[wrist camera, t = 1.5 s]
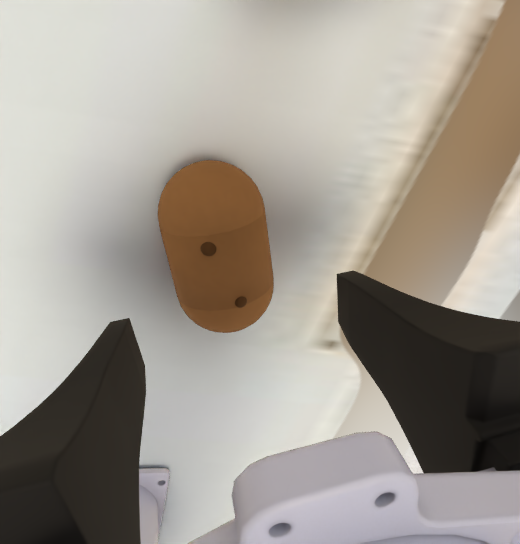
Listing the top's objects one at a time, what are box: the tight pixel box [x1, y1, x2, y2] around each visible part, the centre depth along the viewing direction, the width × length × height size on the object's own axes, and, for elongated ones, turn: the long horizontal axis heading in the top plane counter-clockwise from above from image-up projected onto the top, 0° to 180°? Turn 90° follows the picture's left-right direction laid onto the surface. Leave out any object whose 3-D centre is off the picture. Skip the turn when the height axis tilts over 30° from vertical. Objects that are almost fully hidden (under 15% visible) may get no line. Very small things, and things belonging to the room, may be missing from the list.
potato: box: [158, 160, 274, 333], centre depth 20 cm, size 8×5×5 cm, turn 7°
